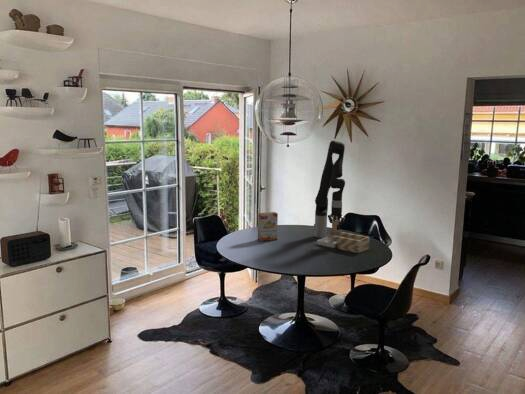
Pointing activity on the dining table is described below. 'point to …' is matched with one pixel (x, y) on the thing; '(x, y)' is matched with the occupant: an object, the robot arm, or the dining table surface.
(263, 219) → the cracker box
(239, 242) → the dining table surface
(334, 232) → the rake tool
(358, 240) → the channel block
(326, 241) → the chip tray
